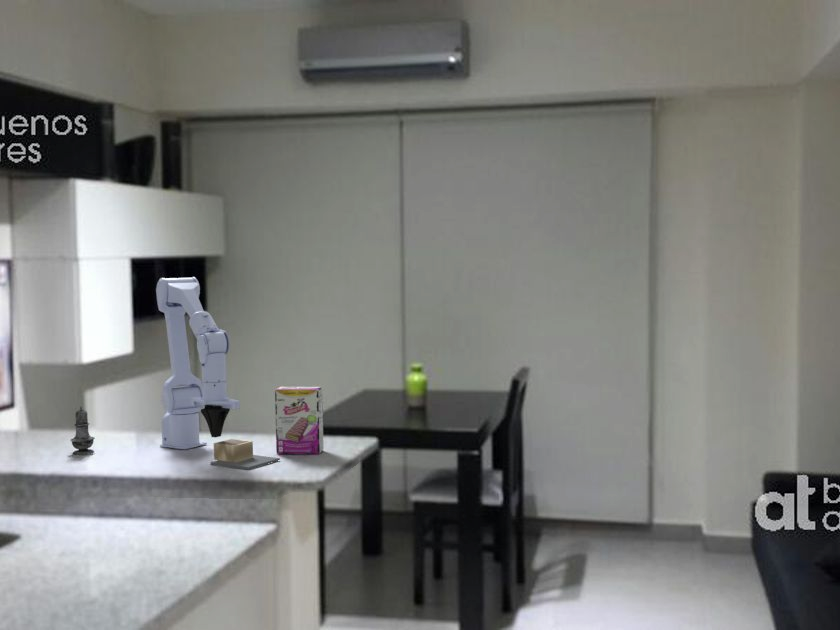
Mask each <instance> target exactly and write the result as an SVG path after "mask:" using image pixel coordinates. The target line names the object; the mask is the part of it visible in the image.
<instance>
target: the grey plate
mask: <svg viewBox="0 0 840 630" xmlns="http://www.w3.org/2000/svg"><path fill="white" fill-rule="evenodd" d="M278 460H280V461H281V459H280V457H275V456H273V457H272V456H265V455H259V454H257V455H256V454H253V458H250V459H247V460H243V461H240V462H236V463H235V462H227V461H220V460H214V461H210V462H209V463H210V465H211V466H217V467H223V468H231V469H239V470H247V471H250V470H252V469H256V468H259V467H262V466H266V465H265V464H267V465H269V464H268V463H270V464H272V463H271V462H274V463H276V462H275V461H277V462H279V461H278Z"/></svg>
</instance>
